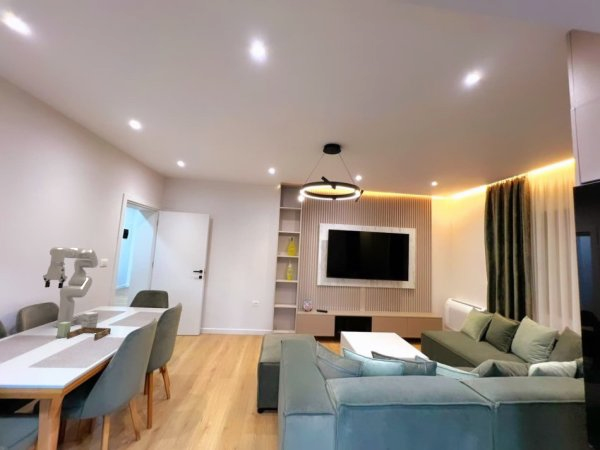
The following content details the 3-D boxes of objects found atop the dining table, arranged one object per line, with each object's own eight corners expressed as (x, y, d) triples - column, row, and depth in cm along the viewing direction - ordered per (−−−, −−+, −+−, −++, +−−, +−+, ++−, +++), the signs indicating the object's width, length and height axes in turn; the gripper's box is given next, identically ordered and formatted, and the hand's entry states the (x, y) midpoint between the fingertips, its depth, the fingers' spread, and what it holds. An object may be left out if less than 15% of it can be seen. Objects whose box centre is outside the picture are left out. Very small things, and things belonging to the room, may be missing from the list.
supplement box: (80, 329, 214) (82, 313, 216) (90, 327, 221) (92, 311, 222) (86, 331, 212) (88, 314, 213) (96, 328, 218) (98, 312, 220)
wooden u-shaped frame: (83, 332, 209) (84, 326, 209) (110, 333, 209) (110, 328, 209) (66, 338, 194) (67, 332, 194) (95, 340, 194) (96, 334, 194)
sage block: (62, 334, 200) (64, 321, 201) (69, 334, 200) (71, 322, 201) (56, 336, 195) (58, 323, 196) (63, 336, 195) (65, 323, 196)
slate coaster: (62, 334, 202) (62, 333, 202) (73, 335, 202) (73, 334, 202) (52, 337, 194) (52, 337, 194) (64, 338, 194) (64, 337, 194)
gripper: (72, 264, 209) (69, 287, 207) (49, 263, 209) (46, 286, 207) (64, 265, 201) (61, 289, 200) (40, 264, 201) (37, 287, 200)
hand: (53, 287), depth 203 cm, fingers open, 9 cm apart
